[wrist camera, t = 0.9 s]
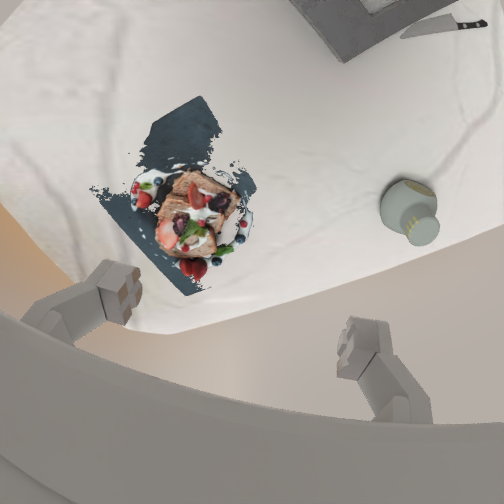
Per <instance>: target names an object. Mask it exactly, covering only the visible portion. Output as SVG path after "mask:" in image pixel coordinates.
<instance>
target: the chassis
mask: <svg viewBox="0 0 504 504" xmlns="http://www.w3.org/2000/svg"><path fill="white" fill-rule="evenodd" d="M290 1H291V3H292V4H293V5H294V6H295V7H296V8H297V9H298V11H299V12H300V13H301V14H302V15H303V16H304V17H305V19H306V20H307V21H308V22H309V23H310V25H311V26H312V27H313V28H314V29H315V31H316V32H317V33H318V34H319V36H320V37H321V38H322V39H323V41H324V42H325V43H326V45H327V46H328V47H329V48H330V50H331V51H332V52H333V54H334V55H335V56H336V58H337V59H338V61H340V62H342V63H346V62H347V61H349V60H351V59H352V58H354V57H355V56H357V55H359V54H360V53H362V52H364V51H365V50H367V49H369V48H370V47H372V46H374V45H375V44H377V43H379V42H380V41H382V40H384V39H385V38H387V37H389V36H391V35H392V34H394V33H396V32H398V31H400V30H401V29H403V28H405V27H407V26H409V25H411V24H412V23H414V22H416V21H418V20H420V19H422V18H424V17H426V16H428V15H430V14H431V13H433V12H435V11H437V10H439V9H441V8H444V7H446V6H448V5H450V4H452V3H454V2H456V1H458V0H399V1H397V2H395V3H393V4H391V5H389V6H387V7H385V8H384V9H382V10H380V11H378V12H376V13H374V14H373V15H371V16H370V14H369V13H368V12H367V10H366V9H365V7H364V6H363V5H362V3H361V2H360V1H359V0H290Z"/></svg>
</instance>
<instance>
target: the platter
mask: <svg viewBox="0 0 504 504" xmlns="http://www.w3.org/2000/svg"><path fill="white" fill-rule="evenodd" d="M217 125H218V121H217V120H216V118H214V115H213V114H212V111H211V110H210V108H209V107H208V105H207V103H206V102H205V101H204V99H203V97H201V96H198V97H196V98H194V99H192V100H190V101H189V102H187V103H185V104H183V105H182V106H180V107H178V108H177V109H175V110H173V111H171V112H170V113H168V114H166V115H165V116H163V117H161V118H160V119H159V120H157V121H155V122H153V123H152V126H151V130H150V134H149V136H148V137H147V138H146V140H145V141H144V145H147V146H146V147H144V148H142V149H141V150H140V151H139V152H143V153H144V154H145V156H143V155H139V156H142V158H143V160H140V162H139V163H138V164H137V165H136V166H138V167H140V166H144V167H146V168H148V169H146V170H144V172H143V173H142V174H140V175H139V176H138V177H137V178H136V179H134V182H133V185H132V187H131V191H130V195H129V194H128V193H127V192H126V191H125V193H127V194H126V195H127V196H128V197H126V195H125V194H123V193H122V194H121V193H120V194H118V195H116V194H114V195H113V196H112V194H110V193H108V191H109V190H108V189H109V188H107V190H106V188H103V191H104V192H103V194H102V195H100V194H97V195H96V197H97V198H99V200H101V199H102V200H101V201H99V202H100V204H101V205H102V206H103V207H104V209H106V210H107V212H108V214H110V215H111V217H112V218H113V219H114V220H115V222H117V224H118V225H119V226H120V227H121V228H122V229H123V231H124V232H125V233H126V234H127V235H128V236H129V238H130V239H131V240H132V241H133V242H134V243H135V244H136V245H137V246H138V247H139V248H140V249H141V250H142V252H143V253H144V254H145V255H146V256H147V257H148V258H149V259H150V260H151V261H152V262H153V263H154V264H155V265H156V266H157V268H158V269H159V270H160V271H161V272H162V273H163V274H164V275H165V276H166V277H167V278H168V279H169V280H170V282H172V283H173V285H175V287H176V288H178V289H179V290H180V291H181V292H182V293H183V294H184V295H185V296H189V295H192V294H194V293H197V292H199V291H202V290H205V289H202V288H200V287H199V286H197V285H199V284H198V283H199V282H200V279H201V278H202V277H203V276H204V275H205V273H206V272H207V268H208V267H210V266H212V265H214V266H219V265H221V263H222V261H223V260H224V258H225V256H226V255H227V254H229V253H230V252H233V251H234V250H235V249H236V248H237V247H238V246H239V245H240V244H242V243H244V242H245V241H246V240H247V238H248V236H249V231H250V226H251V225H252V221H253V212H250V211H249V210H248V208H247V207H246V205H247V203H248V200H247V198H248V199H249V196H250V197H251V194H254V193H255V192H256V191H255V190H257V188H256V185H255V184H254V182H253V179H252V178H251V177H250V175H249V174H248V173H247V172H245V171H247V170H245V168H244V170H245V171H242V170H240V169H239V168H238V170H239V171H240V172H242V173H241V174H237V173H235V172H233V175H234V176H235V177H238V178H240V179H237V178H235V179H236V181H238V182H239V183H238V184H236V183H233V182H232V181H233V180H234V179H233V178H232V177H231V176H230V175H229V174H228V173H225V172H224V171H221V170H220V171H218V172H216V173H215V174H216V175H218V176H222V174H223V173H225V174H226V175H227V176H228V177H229V178H230V179H232V180H230V179H228V182H227V183H229V185H230V184H231V185H232V184H233V185H232V186H231V188H228V187H226V186H224V185H221V184H220V183H219V182H216V181H215V180H214V179H213V178H212V177H211V178H210V177H209V176H206V174H204V173H203V172H202V170H203V168H202V167H204V165H208V164H209V163H208V162H209V161H210V160H211V159H210V155H208V153H210V154H212V153H211V151H214V150H213V149H214V148H212V146H211V147H209V146H210V145H211V144H210V143H211V142H212V141H211V140H210V138H214V134H215V137H216V138H219V136H218V135H219V133H221V131H222V130H221V128H220V127H219V125H218V126H217ZM222 132H223V131H222ZM221 134H222V133H221ZM211 149H212V150H211ZM207 151H209V152H207ZM128 154H130V153H128ZM206 155H207V156H206ZM208 157H209V158H208ZM205 159H206V160H207V162H204V161H203V160H205ZM239 160H240V159H239ZM142 161H143V162H142ZM234 162H235V161H233V163H234ZM238 162H239V161H238ZM143 163H144V164H143ZM230 165H231V166H232V167H233V164H232V163H231V164H230ZM231 166H230V167H231ZM212 169H213V170H214V169H215V167H213V168H212ZM242 169H243V168H242ZM205 170H206V169H205ZM223 177H224V176H223ZM224 178H225V177H224ZM123 184H124V183H123ZM234 185H235V186H234ZM98 186H99V185H98ZM94 187H95V186H94ZM92 188H93V186H92ZM92 188H90V189H91V190H92V191H95V192H99V191H98V190H94V189H92ZM90 189H89V190H90ZM104 189H105V190H104ZM101 190H102V189H101ZM126 190H127V189H126ZM253 190H254V191H253ZM104 193H105V194H104ZM93 195H94V194H93ZM103 195H104V196H106V197H104V196H103ZM98 196H100V197H98ZM121 196H123V197H121ZM242 196H243V198H242ZM244 196H245V197H244ZM109 197H112V198H110V200H111V201H108V200H107V201H105V199H108V198H109ZM125 197H126V198H125ZM104 198H105V199H104ZM249 200H250V199H249ZM128 201H129V202H128ZM157 201H158V202H159V203H158V202H157ZM154 202H155V203H157V204H158V205H160V207H158V208H157V207H154V208H156V210H155V212H151V209H150V210H148V207H149V206H150V205H152V203H154ZM240 203H242V205H241V204H240ZM238 204H240V205H241V206H244V208H243V207H241V206H236V205H238ZM236 207H237V208H236ZM239 207H241V208H239ZM146 208H147V210H145V209H146ZM235 208H236V209H238V210H239V209H242V210H240V213H239V214H241V213H242V212H243V210H244V209H245V214H244V215H243V217H242V218H241V219H240V221H238V222H239V223H238V225H237V226H238V227H239V230H238V232H237V235H236V236H235V239H234V241H232V242H231V243H230V244H229V245H227V244H221V245H219V246H217V243H216V237H215V234H217V232H218V234H221V231H220V229H221V228H222V225H223V222H224V220H227V219H228V217H229V216H230V214H231V213H232V212H234V210H235ZM153 210H154V209H153ZM153 210H152V211H153ZM148 211H149V212H148ZM241 211H242V212H241ZM142 212H143V213H142ZM144 212H145V213H144ZM154 213H155V214H157V215H155V214H154ZM243 213H244V212H243ZM154 216H155V217H154ZM156 216H157V217H156ZM237 220H238V219H237ZM236 224H237V223H236ZM236 224H235V225H236ZM253 227H254V226H253ZM236 230H237V229H236ZM225 245H227V246H225ZM208 254H211V255H212V256H211V257H209V258H204V257H202V256H204V255H208ZM192 274H193V276H194V277H193V278H192V279H195V283H192V282H191V281H193V280H192V279H190V278H189V277H192ZM197 281H199V282H198V283H197ZM193 282H194V281H193ZM196 283H197V284H196ZM201 284H202V283H200V285H201ZM195 286H196V287H195ZM202 286H203V285H201V287H202ZM197 287H199V288H197ZM210 288H211V287H210ZM196 289H198V290H196ZM201 289H202V290H201ZM207 289H208V288H207Z"/></svg>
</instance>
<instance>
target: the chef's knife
mask: <svg viewBox="0 0 504 504" xmlns="http://www.w3.org/2000/svg"><path fill="white" fill-rule="evenodd" d="M486 26H488V24H487V22H485V21H484V20H481V21H478V22H473V23H457V22H456V21H455V20H454V18H453V16H452V14H451V13H450V14H445V15H441V16H437V17H433V18H429V19H426V20H422V21H419V22H417V23H415V24H413V25H412V26H411V27H409V28H408V29H407V30H406V31H405V32H404V33H403V34H402V35H401V36H400V38H401V39H405V38H410V37H416V36H421V35H427V34H433V33H440V32H446V31H454V30H461V29H470V28H480V27H486Z"/></svg>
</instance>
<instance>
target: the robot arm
mask: <svg viewBox="0 0 504 504" xmlns="http://www.w3.org/2000/svg"><path fill="white" fill-rule="evenodd" d="M140 276H141V274H140V269H139V268H138V267H135V266H131V265H128V264H124V263H121V262H118V261H113V260H110V259H104V260H103V261H102V262H101V263H100V264H99V265H98V267H97V268H96V269H95V270H94V271H93V273H92V274H91V275H90V276H89V277H88V279H87V280H86V281H85V282H80V283H77V284H75V285H73V286H70V287H68V288H66V289H63V290H61V291H59V292H56V293H54V294H52V295H49V296H47V297H45V298H43V299H40V300H38V301H36V302H35V303H34V304H33V305H32V306H31V308H30V309H29V310H28V311H27V313H26V314H25V315H24V316H23V317H22V319H21V320H20V321H19V320H17V319H16V318H13V317H12V316H10V315H8V314H6V313H4V312H3V311H1V310H0V504H504V423H502V422H496V423H495V422H494V423H480V424H479V423H478V424H433V420H432V412H431V403H430V398H429V397H428V395H427V394H426V392H425V391H424V390H423V388H422V387H421V386H420V385H419V384H418V382H417V381H416V379H415V378H414V377H413V376H412V374H411V373H410V372H409V370H408V369H407V368H406V367H405V365H404V364H403V363H402V362H401V360H400V359H399V358H398V357H397V356H396V355H393V348H392V341H391V335H390V329H389V324H388V322H386V321H380V320H373V319H368V318H362V317H356V316H350V317H349V318H348V320H347V323H346V325H347V326H346V329H344V330H342V333H341V335H340V338H339V342H338V347H337V354H338V355H339V357H340V358H339V360H338V362H337V377H339V378H344V379H350V380H356V381H357V383H358V384H359V386H360V388H361V390H362V392H363V394H364V395H365V397H366V399H367V401H368V403H369V405H370V406H371V408H372V410H373V412H374V414H375V416H376V417H375V418H374V419H373V420H372V421H362V420H353V419H344V418H335V417H328V416H321V415H314V414H307V413H301V412H295V411H289V410H284V409H278V408H273V407H268V406H263V405H258V404H253V403H249V402H244V401H240V400H236V399H231V398H227V397H223V396H219V395H215V394H211V393H207V392H204V391H200V390H196V389H193V388H189V387H186V386H183V385H179V384H176V383H173V382H169V381H166V380H163V379H160V378H157V377H154V376H150V375H148V374H145V373H142V372H139V371H136V370H133V369H130V368H127V367H124V366H122V365H119V364H117V363H114V362H111V361H109V360H106V359H104V358H101V357H98V356H96V355H93V354H91V353H89V352H86V351H84V350H81V349H79V348H76V347H75V346H74V344H73V343H74V342H75V341H77V340H78V339H80V338H81V337H83V336H85V335H86V334H88V333H89V332H91V331H92V330H94V329H96V328H97V327H99V326H100V325H102V324H103V323H105V322H106V321H111V322H114V323H117V324H120V325H124V326H125V325H126V323H127V322H128V320H129V318H130V317H131V315H132V311H131V309H133V308H135V307H137V305H138V304H139V302H140V299H141V296H142V284H141V282H140V281H139V280H138V279H139V278H140Z"/></svg>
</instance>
